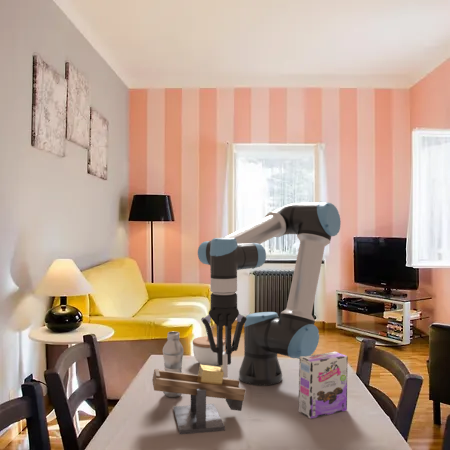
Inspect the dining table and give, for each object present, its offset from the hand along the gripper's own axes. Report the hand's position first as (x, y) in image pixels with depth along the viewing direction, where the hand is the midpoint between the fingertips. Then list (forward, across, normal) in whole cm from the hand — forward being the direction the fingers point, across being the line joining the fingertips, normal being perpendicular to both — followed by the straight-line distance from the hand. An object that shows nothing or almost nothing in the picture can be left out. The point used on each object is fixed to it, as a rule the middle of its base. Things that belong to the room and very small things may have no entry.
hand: (224, 375), depth 134 cm
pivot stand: (+12, +8, 0) cm, 14 cm away
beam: (+7, +8, 0) cm, 10 cm away
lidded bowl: (+12, -5, -50) cm, 52 cm away
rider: (+3, +4, 0) cm, 5 cm away
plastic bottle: (+12, +12, -19) cm, 26 cm away
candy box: (+13, -29, +1) cm, 32 cm away
